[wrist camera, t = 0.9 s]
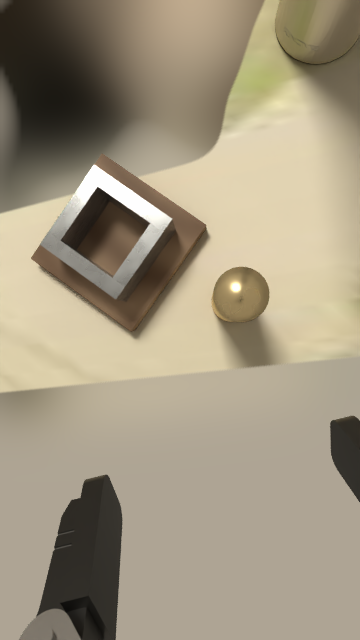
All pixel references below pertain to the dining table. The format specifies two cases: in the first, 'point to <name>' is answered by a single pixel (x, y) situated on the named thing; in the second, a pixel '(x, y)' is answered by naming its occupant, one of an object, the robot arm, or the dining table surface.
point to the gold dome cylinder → (240, 295)
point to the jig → (118, 242)
